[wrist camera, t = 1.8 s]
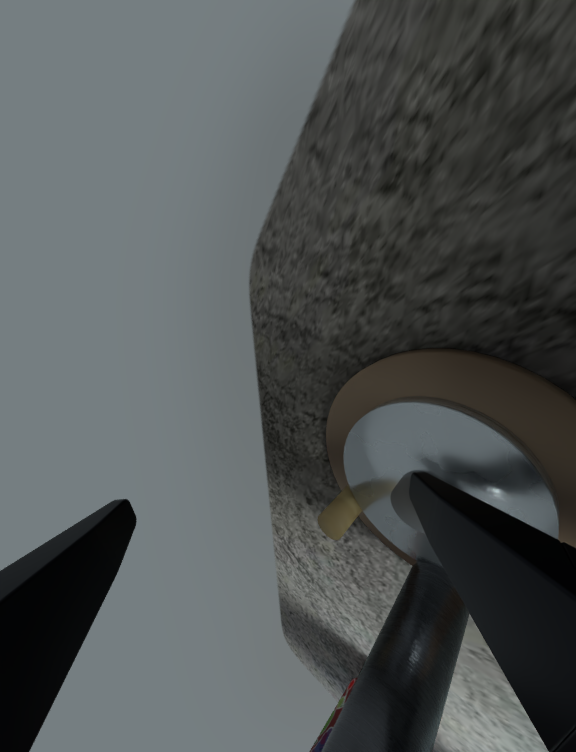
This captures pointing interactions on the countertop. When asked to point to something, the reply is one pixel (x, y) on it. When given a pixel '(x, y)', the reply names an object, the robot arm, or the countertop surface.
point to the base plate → (468, 387)
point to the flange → (426, 558)
